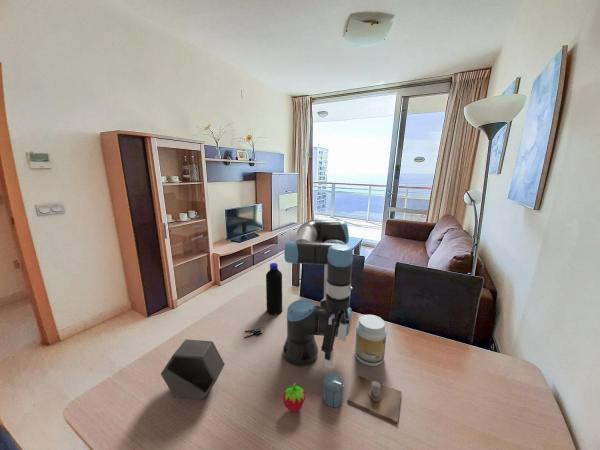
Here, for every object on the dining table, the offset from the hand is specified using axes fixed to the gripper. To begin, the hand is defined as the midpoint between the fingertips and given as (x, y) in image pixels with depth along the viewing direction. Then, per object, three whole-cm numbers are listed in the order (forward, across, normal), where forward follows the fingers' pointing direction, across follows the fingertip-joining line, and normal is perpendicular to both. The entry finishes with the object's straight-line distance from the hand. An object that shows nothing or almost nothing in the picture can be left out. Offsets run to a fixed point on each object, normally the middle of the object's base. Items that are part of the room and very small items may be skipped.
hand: (335, 352), depth 81 cm
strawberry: (+19, -10, +10) cm, 24 cm away
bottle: (+19, +36, +48) cm, 63 cm away
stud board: (+19, +7, -13) cm, 24 cm away
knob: (+19, 0, 0) cm, 19 cm away
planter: (+19, -20, +45) cm, 53 cm away
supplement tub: (+19, +26, -7) cm, 33 cm away
